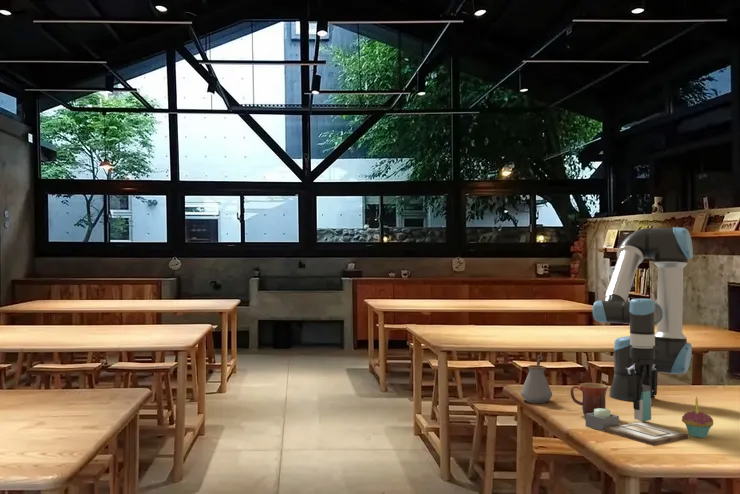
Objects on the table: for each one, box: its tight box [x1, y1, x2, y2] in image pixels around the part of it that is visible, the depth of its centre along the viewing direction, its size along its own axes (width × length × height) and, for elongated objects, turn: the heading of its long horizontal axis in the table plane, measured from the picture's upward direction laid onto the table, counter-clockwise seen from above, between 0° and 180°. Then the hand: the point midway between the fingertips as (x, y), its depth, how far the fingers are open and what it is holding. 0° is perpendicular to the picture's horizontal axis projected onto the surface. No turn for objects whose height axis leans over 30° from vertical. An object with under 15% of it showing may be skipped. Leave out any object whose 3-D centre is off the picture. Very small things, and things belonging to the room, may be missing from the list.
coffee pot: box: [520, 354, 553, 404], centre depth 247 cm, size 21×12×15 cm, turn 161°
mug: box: [570, 382, 608, 417], centre depth 221 cm, size 12×9×10 cm
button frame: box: [585, 413, 620, 432], centre depth 206 cm, size 7×7×4 cm
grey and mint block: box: [639, 384, 652, 422], centre depth 212 cm, size 3×3×11 cm
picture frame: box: [604, 421, 689, 446], centre depth 197 cm, size 16×17×1 cm
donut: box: [681, 396, 714, 439], centre depth 197 cm, size 9×8×12 cm
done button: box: [594, 408, 611, 418], centre depth 206 cm, size 5×5×4 cm
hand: (642, 418), depth 212 cm, fingers closed on grey and mint block, 3 cm apart
